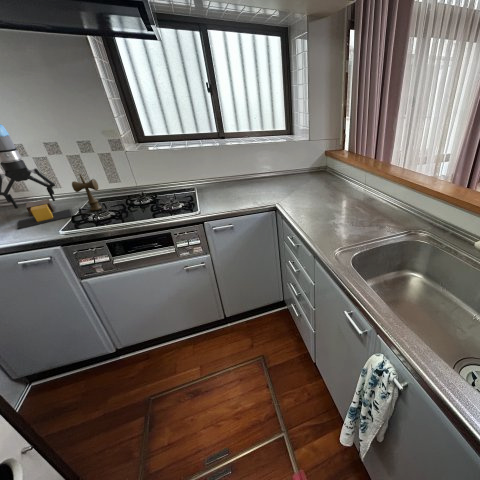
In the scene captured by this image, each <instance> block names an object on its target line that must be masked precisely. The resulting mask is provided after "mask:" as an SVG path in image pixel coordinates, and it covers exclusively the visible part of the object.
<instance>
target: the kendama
mask: <svg viewBox="0 0 480 480" xmlns="http://www.w3.org/2000/svg"><path fill="white" fill-rule="evenodd" d="M78 175H79V178H80V180H81V182H79V181H75V180H74V181H72V182H71V187H72V189H73V191H74V192H75V193H79V192H80V191H82V190H84V189H85V193H86V195H87V204H89V206H90V209H89V210H90V212H91V211H92V212H96V211H100V210H102V209H103V206H101V205H100V204H99V200H98V199H97V198H96V197H94V195H93V194H92V192H91V190H94V191H99V183H98V181H97V180H96V179H95V178H91V179H90V180H89V181H88V182H86V181H85V180H84V177H83V176H82V174H81V173H79V174H78ZM90 189H91V190H90Z"/></svg>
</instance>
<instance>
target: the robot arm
mask: <svg viewBox="0 0 480 480" xmlns="http://www.w3.org/2000/svg"><path fill="white" fill-rule="evenodd" d="M0 166H1V168H2V169H3V171H4V173H0V196H3V197H4V198H5V200H6V202H7V203H11V204H12V206H13V207H14V209H15V210H16V209H18V208H19V206H18V204H17V203H16V201H15V199H14V197H13V196H12V195H11V193H9V192H10V190H11V188H12V186H13V185H14V183H15V182H24V181H28V180H29V181H32V182H34V183H36V184H39V185H40V186H43V187H45V188H46V191H47V193H48V194H49V196H50V198H51V200H52V202H55V201H56V199H55V197H54V196H53V195H55V191H54V189H53V187H55V186H56V183H55V182H54V181H52V180H51V179H49V178H48V177H46V176H45V175H44V174H43V173H42V172H41V171H40V170H39V168H37V167H35V168H33V169H29V168H28V167H27V164H26V163H25V161H24V160H23V159H22V156H21V154H20V152H19V150H18V148H17V146H16V145H15V144H14V141H13V139H12V138H11V135H10V133H9V132H8V130H7V129H6V128H5V126H4V125H3V124H1V123H0ZM31 174H34V175H37V176H38V177H39V178H41V179H42V180H43V181H42V180H41V179H38V178H36V177H34V176H33V175H31ZM5 177H7V178H9V179H10V180H9V182H8V184H7V185H6V187H5V189H4V190H3V191H2V189H3V179H5ZM44 181H45V182H44Z"/></svg>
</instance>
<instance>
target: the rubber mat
mask: <svg viewBox="0 0 480 480" xmlns="http://www.w3.org/2000/svg"><path fill="white" fill-rule="evenodd" d="M52 214H53V218H52V219H48V220H43V221H39V222H37V220H36V219H35V217H34V216H32V217H29V218H24V219H23V218H22V219H20V220H18V222H17V230H21V229H26V228H29V227H35V226H37V225H38V226H39V225H43V224H47V223H51V222H56V221H59V220H64V219H67V218H72V213H71V210H70V209H64V210H60V211H54V212H52Z"/></svg>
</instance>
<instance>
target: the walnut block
mask: <svg viewBox="0 0 480 480" xmlns="http://www.w3.org/2000/svg"><path fill="white" fill-rule="evenodd" d="M45 204H47V205H48V207H49V209H50V211H51V212H52V213H55V209H54V208H55V207H54V206H53V205H54V204H52V202H51V200H50V198H46V199H39V200H35V201H30V202H26V203H25V209H26V210H27V212H28V213H29V215H30V218H32V217H34V216H33V214H32V212H31V207H35V206H40V205H45Z"/></svg>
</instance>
